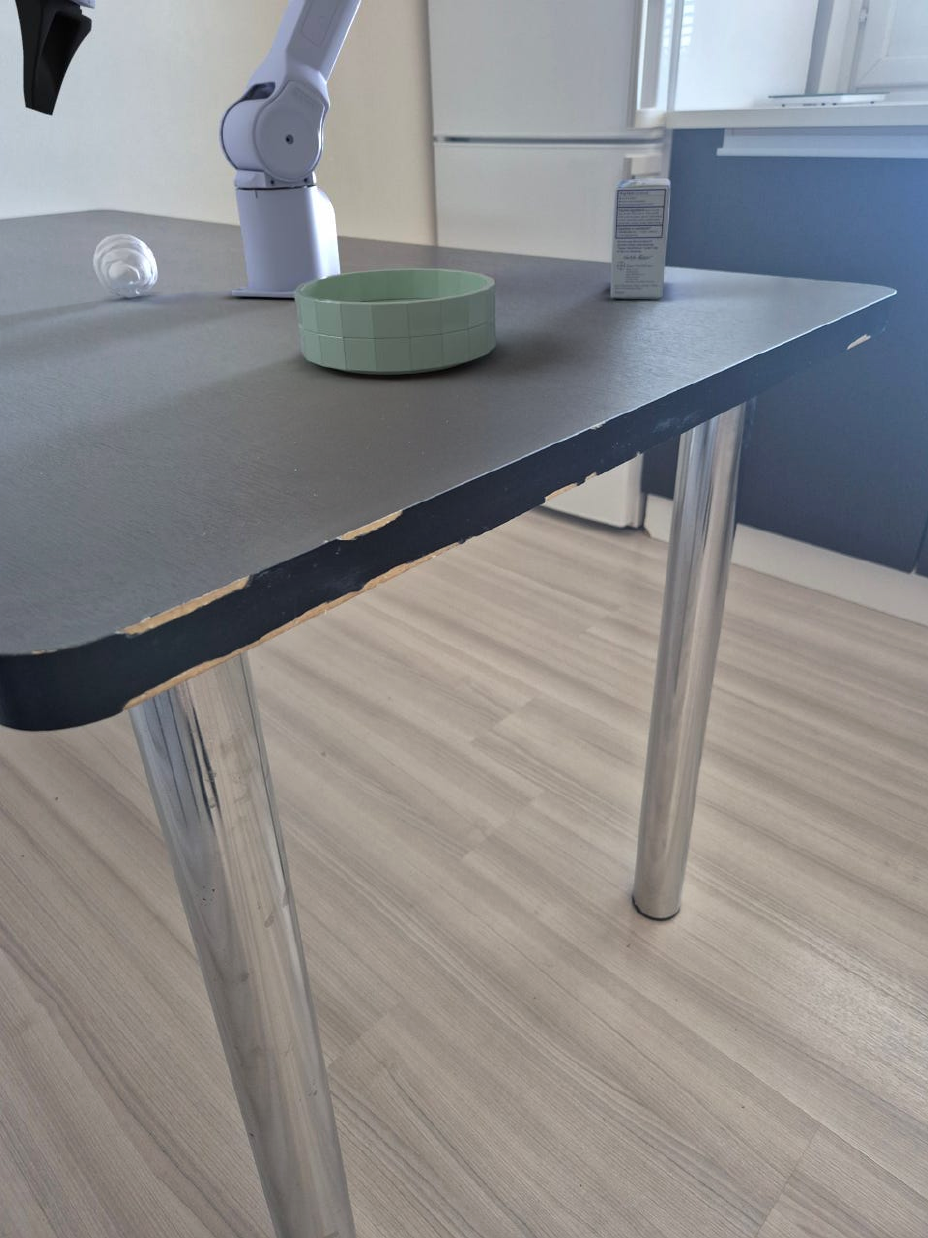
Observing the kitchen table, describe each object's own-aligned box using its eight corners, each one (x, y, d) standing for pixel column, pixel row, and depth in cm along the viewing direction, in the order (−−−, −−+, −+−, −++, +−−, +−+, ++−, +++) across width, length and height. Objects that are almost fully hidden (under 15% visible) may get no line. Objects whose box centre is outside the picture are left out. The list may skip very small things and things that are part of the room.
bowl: (350, 329, 64) (344, 266, 62) (515, 336, 61) (515, 269, 59) (268, 374, 54) (258, 300, 52) (463, 385, 50) (461, 306, 48)
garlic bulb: (102, 308, 75) (87, 241, 72) (100, 297, 80) (86, 234, 77) (166, 302, 77) (153, 236, 74) (160, 291, 81) (148, 229, 79)
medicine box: (662, 300, 71) (672, 184, 66) (608, 299, 72) (614, 185, 67) (662, 283, 77) (671, 177, 73) (613, 283, 78) (619, 178, 74)
